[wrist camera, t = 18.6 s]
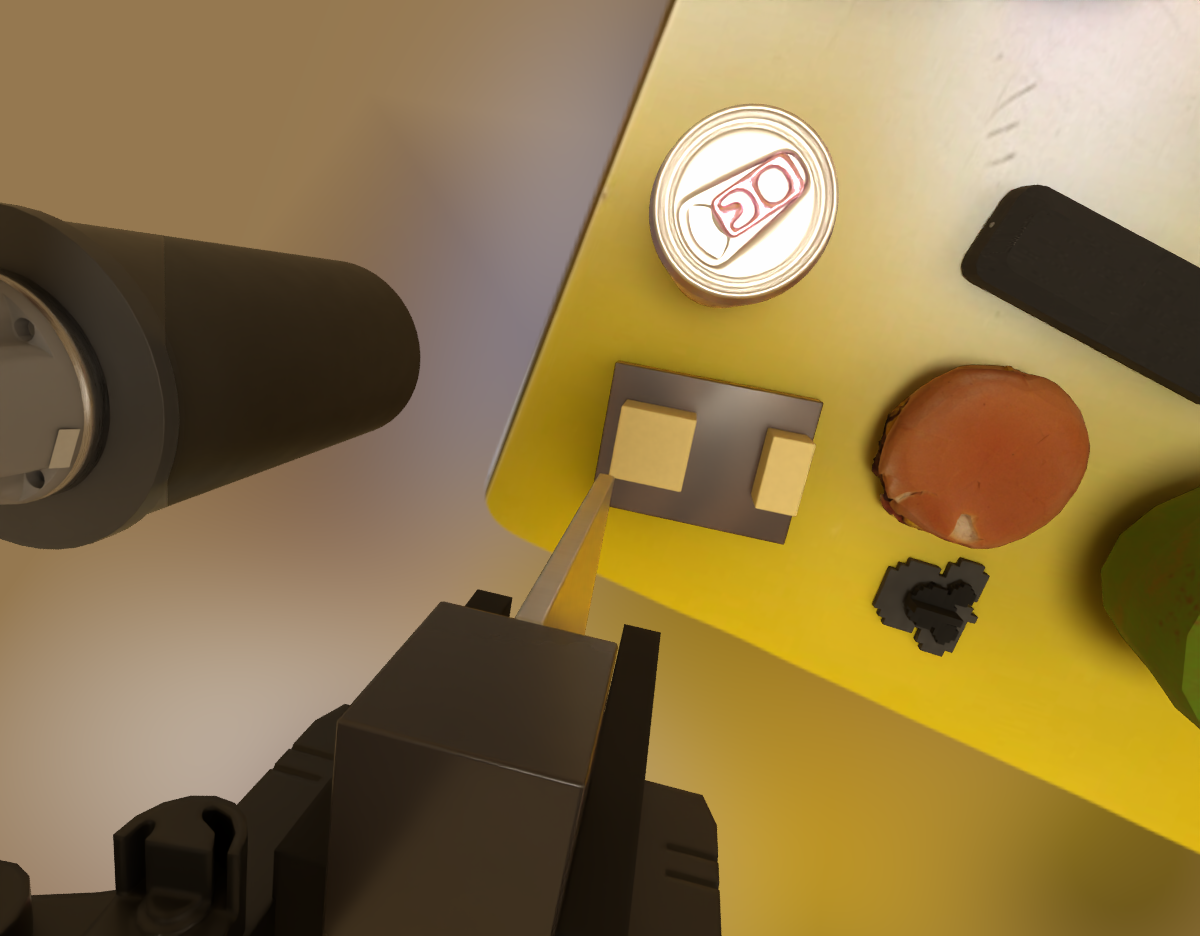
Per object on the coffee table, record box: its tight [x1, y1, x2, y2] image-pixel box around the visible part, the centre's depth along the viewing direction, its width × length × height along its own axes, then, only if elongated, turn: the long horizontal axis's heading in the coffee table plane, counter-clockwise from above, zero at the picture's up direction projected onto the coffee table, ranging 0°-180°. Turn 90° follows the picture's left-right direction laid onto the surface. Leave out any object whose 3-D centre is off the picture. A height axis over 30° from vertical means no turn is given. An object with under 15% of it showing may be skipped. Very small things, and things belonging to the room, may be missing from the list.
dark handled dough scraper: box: [321, 473, 618, 936], centre depth 11 cm, size 7×2×10 cm, turn 170°
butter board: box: [594, 361, 823, 544], centre depth 36 cm, size 12×8×1 cm
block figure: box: [872, 557, 990, 657], centre depth 35 cm, size 6×2×6 cm
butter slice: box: [751, 428, 816, 516], centre depth 33 cm, size 2×4×2 cm, turn 170°
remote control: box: [962, 185, 1200, 404], centre depth 30 cm, size 5×2×15 cm
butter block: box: [609, 399, 697, 492], centre depth 34 cm, size 4×4×2 cm
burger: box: [872, 365, 1090, 549], centre depth 32 cm, size 10×9×5 cm
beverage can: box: [649, 104, 839, 308], centre depth 26 cm, size 6×6×15 cm
